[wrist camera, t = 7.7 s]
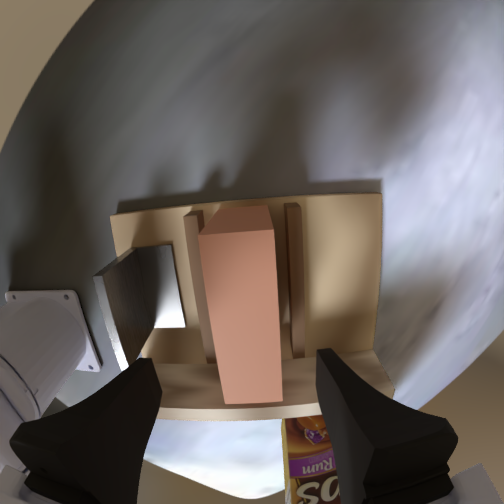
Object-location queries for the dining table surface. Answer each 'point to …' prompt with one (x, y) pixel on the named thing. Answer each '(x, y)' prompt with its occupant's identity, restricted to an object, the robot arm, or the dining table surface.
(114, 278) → the bookend
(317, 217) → the beige slotted rack
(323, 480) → the candy box
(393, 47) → the dining table surface
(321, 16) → the dining table surface
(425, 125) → the dining table surface
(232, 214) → the slim book
